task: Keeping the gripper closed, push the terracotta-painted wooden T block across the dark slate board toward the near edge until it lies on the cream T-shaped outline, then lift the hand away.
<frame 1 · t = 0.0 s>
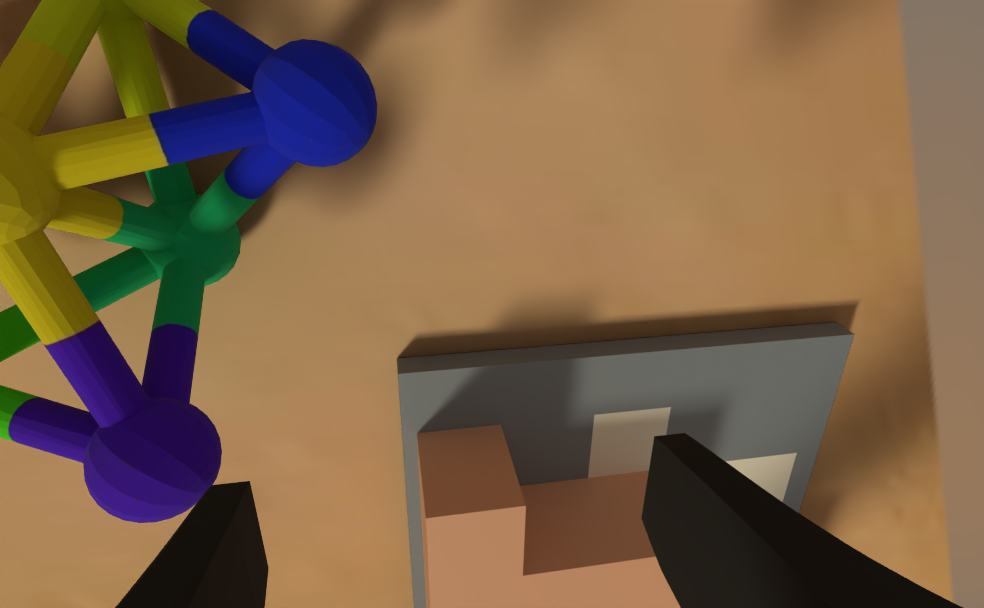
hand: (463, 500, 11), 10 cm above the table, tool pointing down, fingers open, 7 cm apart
t block: (536, 513, 24), point 1 cm above the table, touching board
board: (607, 520, 26), on the table
decorative model: (80, 123, 16), on the table
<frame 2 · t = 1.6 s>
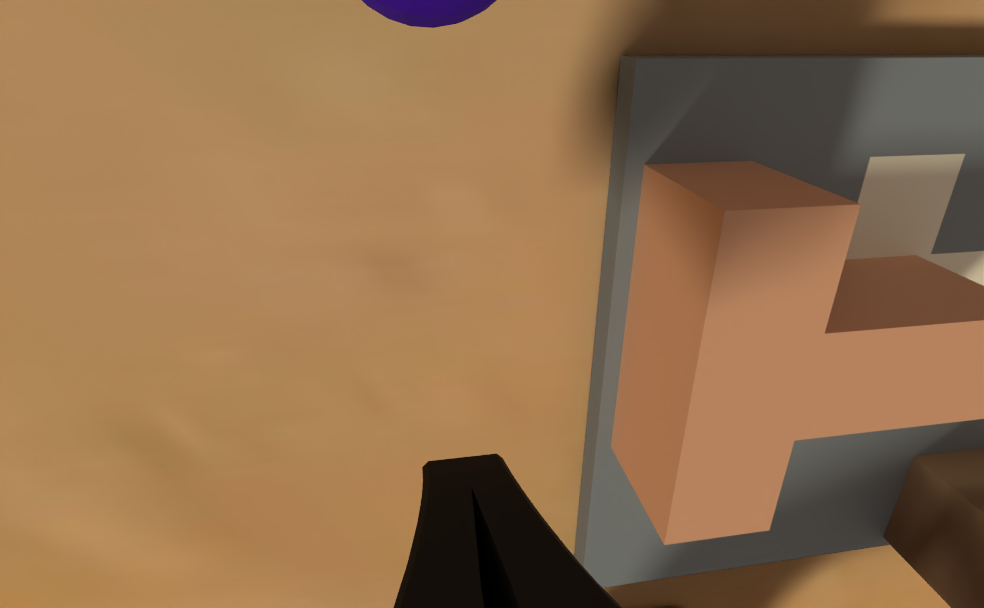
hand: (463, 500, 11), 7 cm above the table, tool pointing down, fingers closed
walnut cube: (943, 491, 23), point 1 cm above the table, touching board
t block: (768, 310, 18), point 1 cm above the table, touching board
board: (834, 343, 20), on the table
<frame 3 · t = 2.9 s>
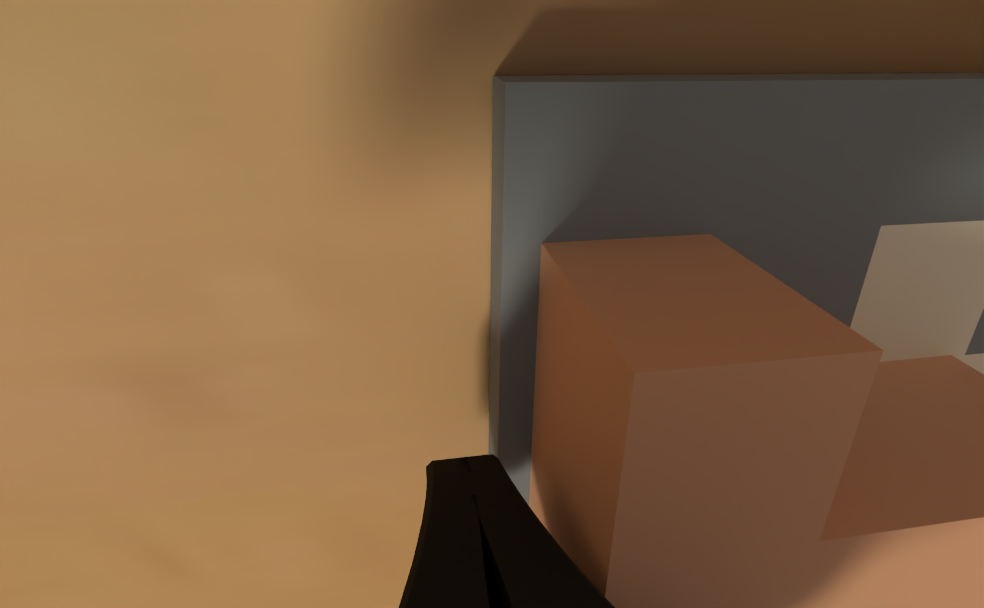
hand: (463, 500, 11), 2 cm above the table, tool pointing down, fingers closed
t block: (741, 434, 13), point 1 cm above the table, touching gripper
board: (827, 461, 15), on the table
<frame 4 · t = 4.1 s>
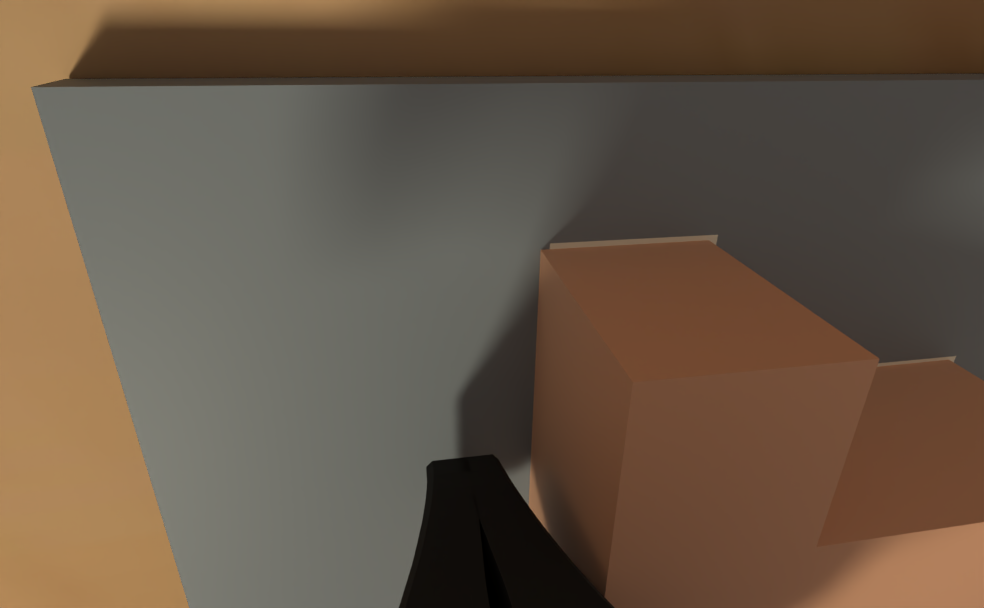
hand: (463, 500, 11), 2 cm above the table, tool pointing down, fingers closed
t block: (739, 439, 13), point 1 cm above the table, touching board, gripper
board: (586, 491, 14), on the table
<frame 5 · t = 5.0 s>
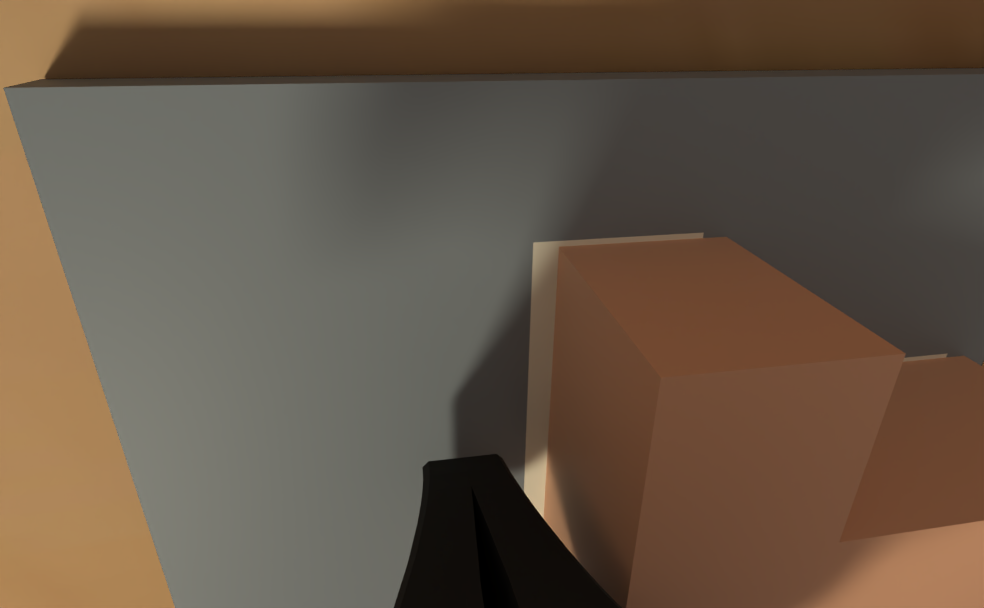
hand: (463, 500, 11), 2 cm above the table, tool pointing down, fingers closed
t block: (754, 435, 13), point 1 cm above the table, touching board
board: (576, 491, 14), on the table
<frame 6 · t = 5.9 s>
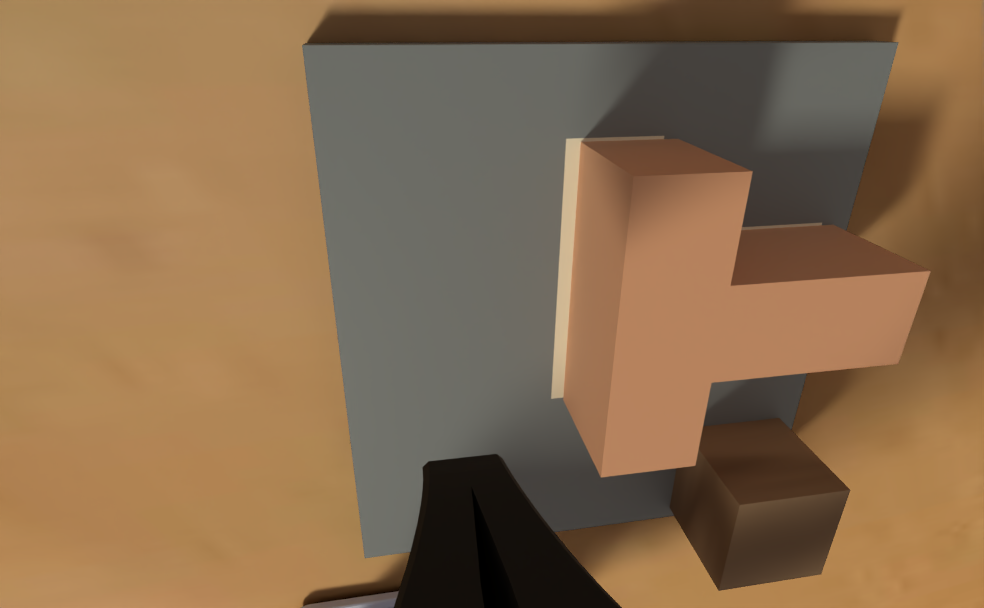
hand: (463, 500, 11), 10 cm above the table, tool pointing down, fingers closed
walnut cube: (722, 463, 24), point 1 cm above the table, touching board
t block: (701, 274, 20), point 1 cm above the table, touching board
board: (588, 319, 21), on the table
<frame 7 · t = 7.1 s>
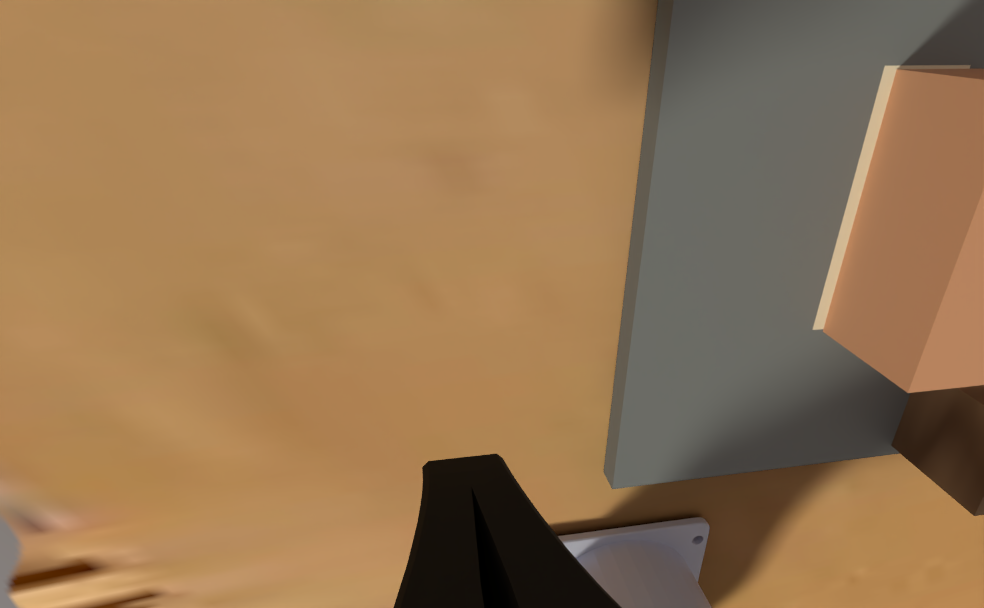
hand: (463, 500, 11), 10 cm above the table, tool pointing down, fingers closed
walnut cube: (948, 401, 25), point 1 cm above the table, touching board
t block: (971, 207, 21), point 1 cm above the table, touching board
board: (848, 253, 22), on the table
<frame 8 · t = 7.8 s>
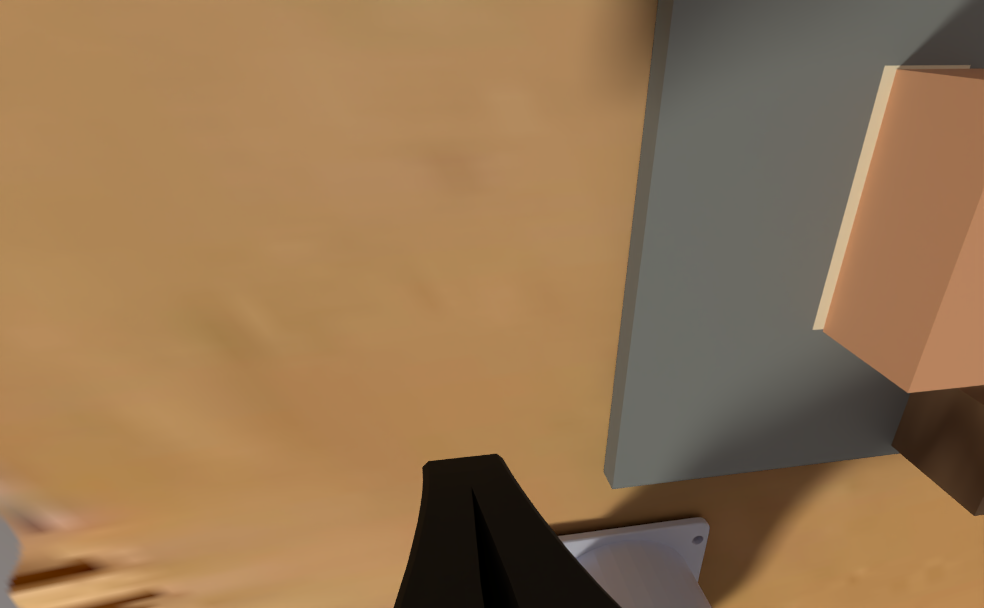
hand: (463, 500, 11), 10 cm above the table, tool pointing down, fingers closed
walnut cube: (948, 401, 25), point 1 cm above the table, touching board
t block: (971, 207, 21), point 1 cm above the table, touching board
board: (848, 253, 22), on the table
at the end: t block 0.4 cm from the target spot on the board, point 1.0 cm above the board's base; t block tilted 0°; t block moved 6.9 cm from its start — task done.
